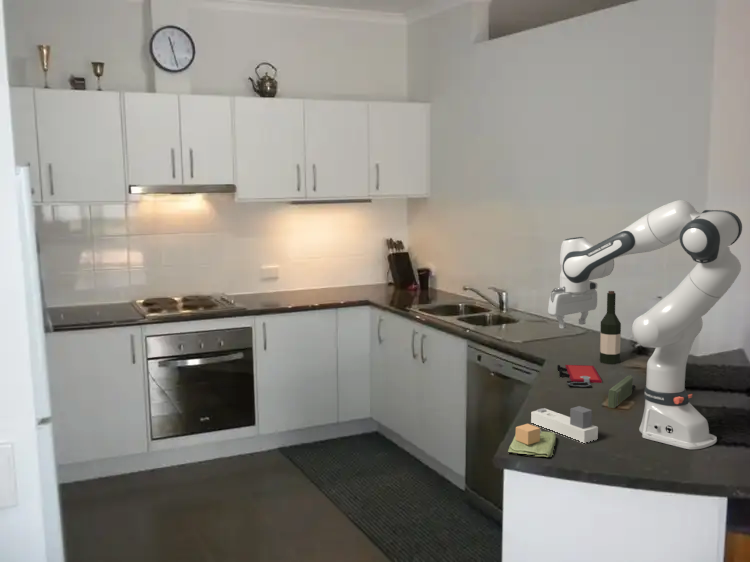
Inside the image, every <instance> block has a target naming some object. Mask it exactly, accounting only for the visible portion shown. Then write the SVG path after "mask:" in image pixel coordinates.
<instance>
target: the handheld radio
mask: <svg viewBox="0 0 750 562" xmlns="http://www.w3.org/2000/svg"><path fill="white" fill-rule="evenodd" d="M633 380H634V379H633V376H632V375H631V374H629V375H627V376H626V377H624V378H623V379H621V380H620V381H618V383H616V384H615V385H613V386H612V387H610V389H608V398H607V408H612V409H615V408H617V407H618V406H619V405H620V404H621V403H623V402H624V401H625V400H627V398H629V397H630V396H631V395H632V394H633V390H634V389H636V385H635V384H633V383H634V382H633ZM623 400H624V401H623ZM622 401H623V402H622ZM620 402H621V403H620ZM616 406H617V407H616Z"/></svg>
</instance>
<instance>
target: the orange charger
mask: <svg viewBox="0 0 750 562" xmlns="http://www.w3.org/2000/svg"><path fill="white" fill-rule="evenodd" d="M541 431H542V429H541V427H538V426H536V425H533V424H531V423H525V424H521V425H518V426H516V427H515V434H516V440H517V441H519V442H522V443H524V444H527V445H529V444H532V443H536V442H539V441H540V434H541Z"/></svg>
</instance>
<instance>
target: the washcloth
mask: <svg viewBox="0 0 750 562" xmlns="http://www.w3.org/2000/svg"><path fill="white" fill-rule="evenodd" d="M514 434H515V435H514V437H513V439H512V441H511V443H510V445H509V447H508V450H507V453H508V452H512V453H518V454H527V455H535V456H534V457H544V458H545V457H546V458H550V457H549V456H552V455H553V456H554V454H553V450H554V451H555V449H554V446H556V438H557V436H556V434H557V433H554V432H552V431H542V430H541V434H540V441H539V442H536V443H532V444H529V445H527V444H524V443H522V442H519V441H517V440H516V433H514ZM527 455H526V456H527Z"/></svg>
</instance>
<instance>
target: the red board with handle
mask: <svg viewBox="0 0 750 562" xmlns="http://www.w3.org/2000/svg"><path fill="white" fill-rule="evenodd" d="M556 366H557V367H556V371H557V370H558V371H559V373H558V374H559V375H558V377H559V376H560V377H562V378H563V376H564V377H567V378H569V379H570V380H567V381H566V383H567V385H568V387H587V388H588V387H590V388H591V387H592V384H591V383H596V384H597V383H598V384H599V383H600V384H602V382H603V380H602V378H601V376H600V375H599V373H598V371H597V370H596V368H595V366H594V365H585V364H580V365H579V364H565V365H564V367H563V366H561V365H560V364H557V365H556ZM565 366H566V367H565ZM558 371H557V372H558ZM566 371H567V373H566ZM560 377H559V378H560ZM592 388H593V387H592Z"/></svg>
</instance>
